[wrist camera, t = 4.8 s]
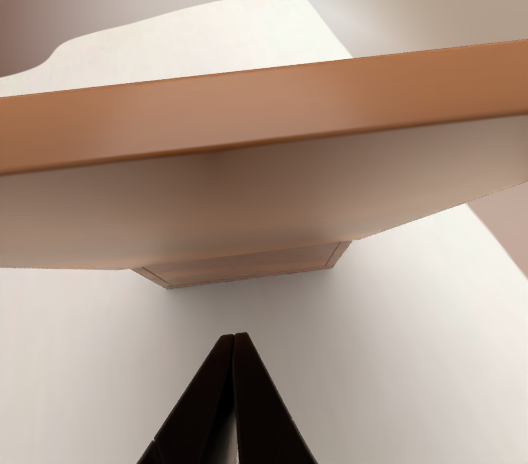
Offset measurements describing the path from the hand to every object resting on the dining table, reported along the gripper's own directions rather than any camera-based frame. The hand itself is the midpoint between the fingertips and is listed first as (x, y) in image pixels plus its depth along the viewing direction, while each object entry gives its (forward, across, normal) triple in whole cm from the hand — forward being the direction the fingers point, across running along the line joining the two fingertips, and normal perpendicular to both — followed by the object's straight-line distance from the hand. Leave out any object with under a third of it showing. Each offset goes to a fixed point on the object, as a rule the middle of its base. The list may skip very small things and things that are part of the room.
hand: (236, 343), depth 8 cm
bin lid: (+2, 0, -4) cm, 4 cm away
